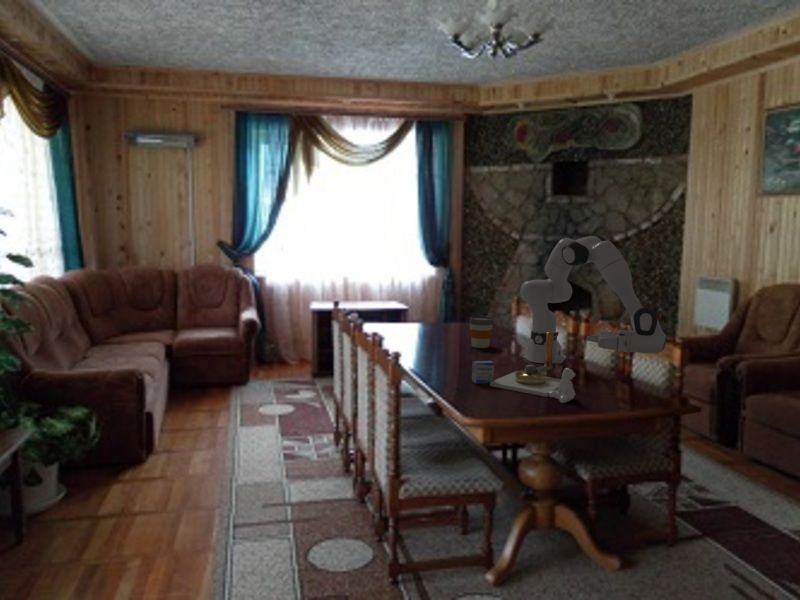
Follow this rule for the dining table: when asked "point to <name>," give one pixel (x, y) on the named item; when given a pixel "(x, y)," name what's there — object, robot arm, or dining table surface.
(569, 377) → the seated beast figurine
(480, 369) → the medicine box
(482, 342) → the reusable coffee cup
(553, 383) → the white rectangular board
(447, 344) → the dining table surface
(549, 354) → the brass disc with post
